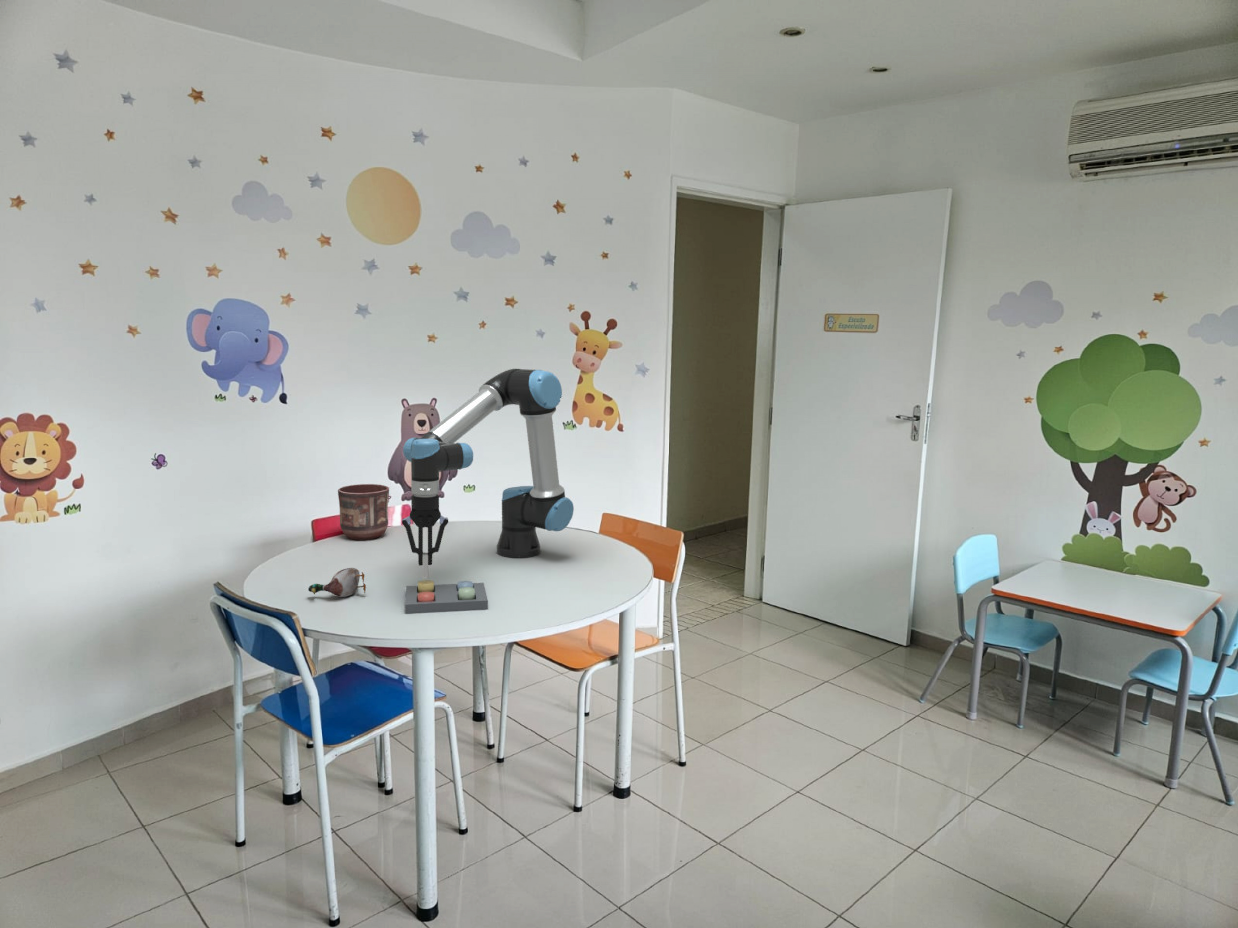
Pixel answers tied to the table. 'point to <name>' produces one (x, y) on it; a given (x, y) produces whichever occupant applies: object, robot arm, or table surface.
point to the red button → (425, 596)
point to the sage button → (466, 593)
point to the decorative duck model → (341, 583)
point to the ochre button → (425, 586)
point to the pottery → (363, 510)
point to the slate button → (464, 584)
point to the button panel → (445, 599)
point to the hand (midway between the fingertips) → (425, 576)
